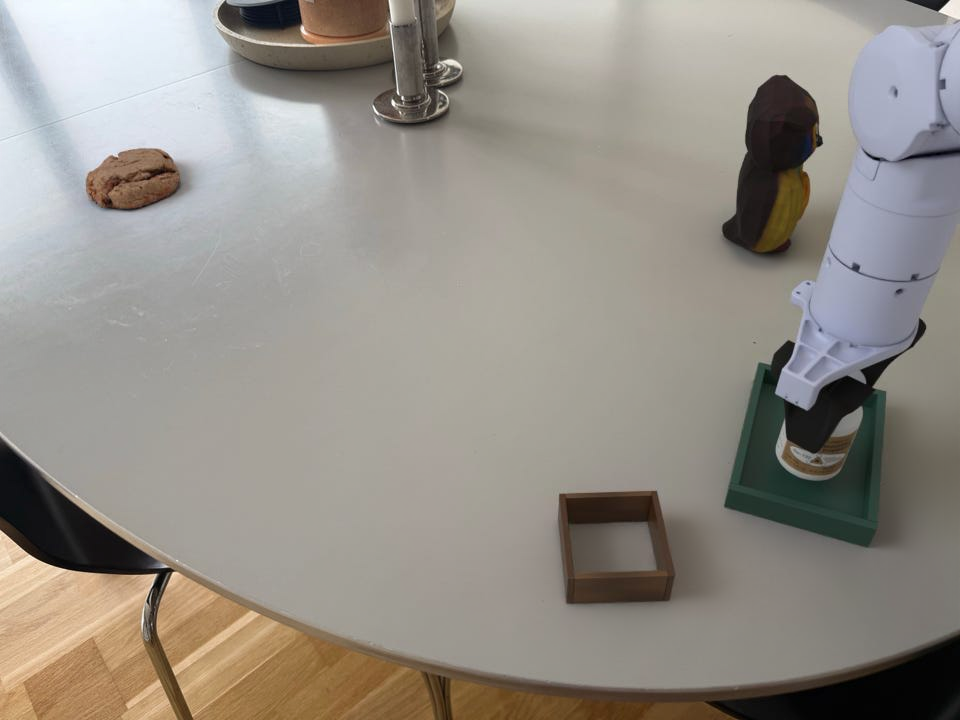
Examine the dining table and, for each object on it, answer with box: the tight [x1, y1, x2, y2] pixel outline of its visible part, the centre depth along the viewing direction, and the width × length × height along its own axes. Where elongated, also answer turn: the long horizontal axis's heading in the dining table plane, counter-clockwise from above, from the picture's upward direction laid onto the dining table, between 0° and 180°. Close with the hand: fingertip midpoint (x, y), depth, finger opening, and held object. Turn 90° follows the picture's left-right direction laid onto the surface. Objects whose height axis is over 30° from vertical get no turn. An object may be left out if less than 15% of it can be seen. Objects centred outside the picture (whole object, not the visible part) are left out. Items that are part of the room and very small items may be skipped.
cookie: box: [85, 147, 181, 210], centre depth 89 cm, size 10×11×3 cm
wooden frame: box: [557, 490, 676, 604], centre depth 52 cm, size 6×6×3 cm
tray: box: [723, 361, 887, 548], centre depth 58 cm, size 13×9×2 cm
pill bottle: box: [776, 370, 866, 481], centre depth 53 cm, size 4×4×8 cm
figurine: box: [721, 74, 824, 253], centre depth 73 cm, size 10×7×15 cm
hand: (821, 422), depth 53 cm, fingers closed on pill bottle, 4 cm apart
